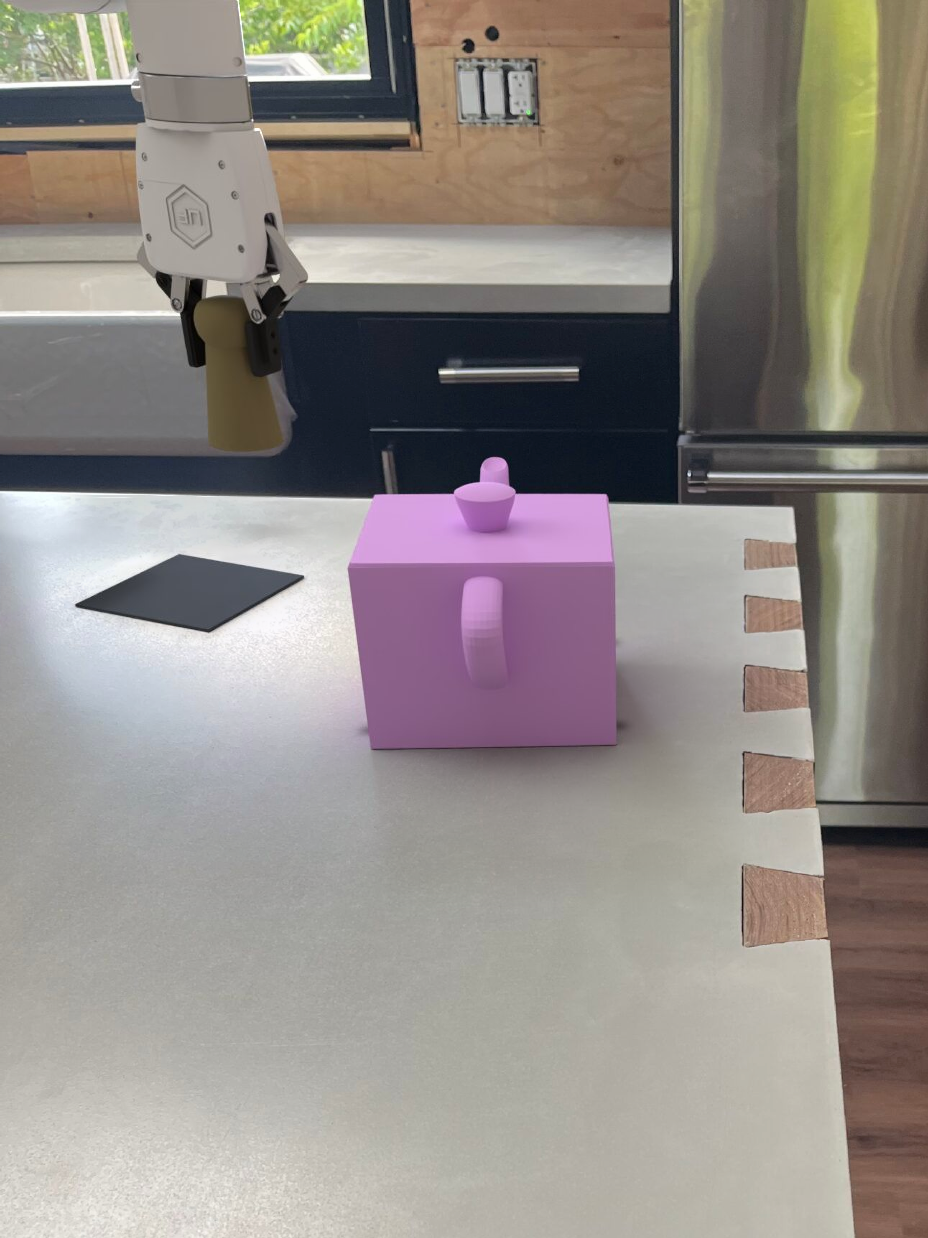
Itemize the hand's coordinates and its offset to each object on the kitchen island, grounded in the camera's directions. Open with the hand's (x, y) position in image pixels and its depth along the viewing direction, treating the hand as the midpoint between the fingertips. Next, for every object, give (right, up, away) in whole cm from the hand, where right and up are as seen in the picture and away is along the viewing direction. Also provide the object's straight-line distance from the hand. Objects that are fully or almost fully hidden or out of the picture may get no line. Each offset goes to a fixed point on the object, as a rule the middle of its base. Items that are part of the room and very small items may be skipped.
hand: (235, 366), depth 106 cm
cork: (0, -5, +4) cm, 6 cm away
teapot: (+24, -30, -18) cm, 42 cm away
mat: (-2, -19, -4) cm, 20 cm away
